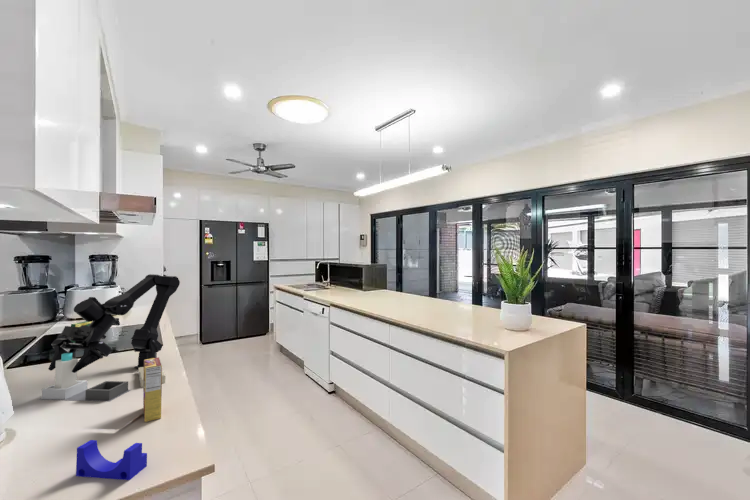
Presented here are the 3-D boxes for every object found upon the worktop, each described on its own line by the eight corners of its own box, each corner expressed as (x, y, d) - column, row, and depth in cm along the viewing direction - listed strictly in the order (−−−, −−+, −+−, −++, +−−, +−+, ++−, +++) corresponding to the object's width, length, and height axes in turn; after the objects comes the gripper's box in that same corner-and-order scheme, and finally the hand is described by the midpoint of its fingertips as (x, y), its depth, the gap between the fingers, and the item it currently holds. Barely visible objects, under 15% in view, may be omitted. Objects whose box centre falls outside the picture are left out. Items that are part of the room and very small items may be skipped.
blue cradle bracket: (146, 467, 71) (147, 439, 71) (129, 480, 67) (130, 451, 67) (95, 463, 72) (96, 436, 72) (75, 477, 68) (76, 447, 68)
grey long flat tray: (64, 390, 110) (65, 379, 110) (131, 392, 110) (132, 380, 110) (36, 402, 101) (37, 389, 101) (109, 404, 101) (109, 391, 101)
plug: (69, 390, 108) (71, 351, 109) (76, 392, 107) (78, 352, 107) (54, 395, 105) (55, 354, 105) (60, 397, 103) (62, 356, 103)
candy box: (141, 410, 97) (143, 359, 97) (159, 407, 99) (160, 356, 100) (142, 423, 90) (144, 367, 90) (161, 418, 92) (163, 364, 93)
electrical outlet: (160, 361, 130) (165, 374, 116) (160, 372, 130) (165, 386, 116) (138, 365, 126) (141, 379, 112) (138, 375, 126) (140, 391, 112)
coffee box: (74, 351, 155) (75, 323, 155) (69, 351, 155) (70, 323, 155) (92, 347, 162) (93, 320, 163) (87, 346, 163) (88, 320, 163)
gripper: (58, 314, 112) (16, 356, 101) (104, 317, 109) (66, 360, 97) (82, 332, 119) (45, 373, 108) (125, 335, 116) (92, 377, 105)
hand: (61, 371), depth 104 cm, fingers open, 9 cm apart
